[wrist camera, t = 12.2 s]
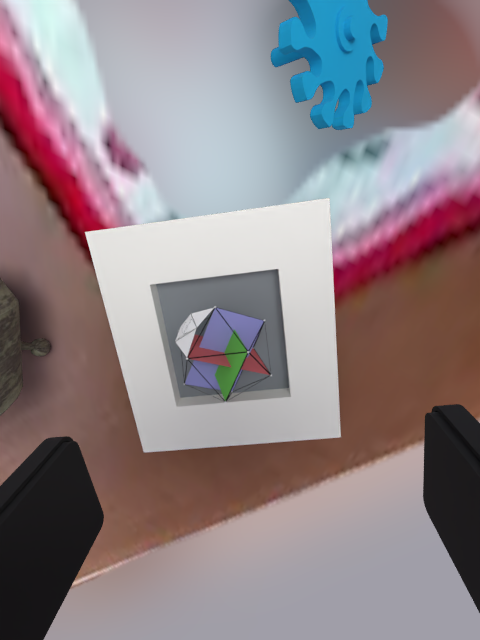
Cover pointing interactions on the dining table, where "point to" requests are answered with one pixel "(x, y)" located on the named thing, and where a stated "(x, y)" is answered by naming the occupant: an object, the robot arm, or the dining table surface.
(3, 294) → the tabletop clock
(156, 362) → the square picture frame
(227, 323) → the geometric puzzle
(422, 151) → the dining table surface
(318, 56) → the gear
